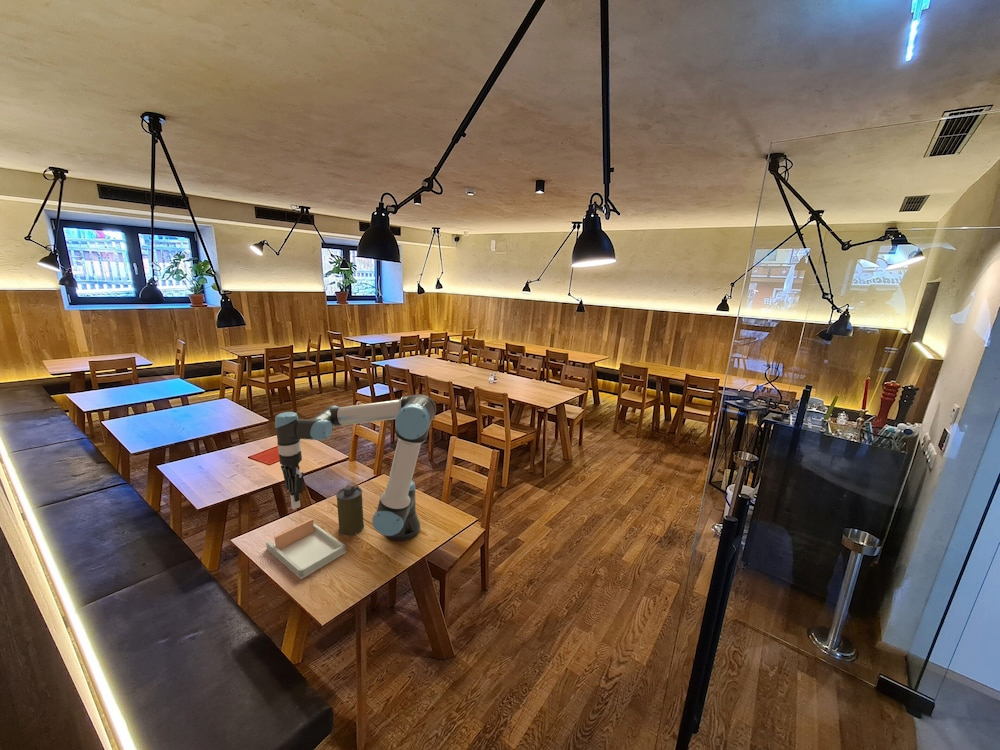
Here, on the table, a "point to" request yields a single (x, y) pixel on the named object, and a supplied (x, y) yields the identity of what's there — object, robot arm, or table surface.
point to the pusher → (294, 534)
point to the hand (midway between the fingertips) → (296, 507)
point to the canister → (350, 510)
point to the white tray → (308, 552)
